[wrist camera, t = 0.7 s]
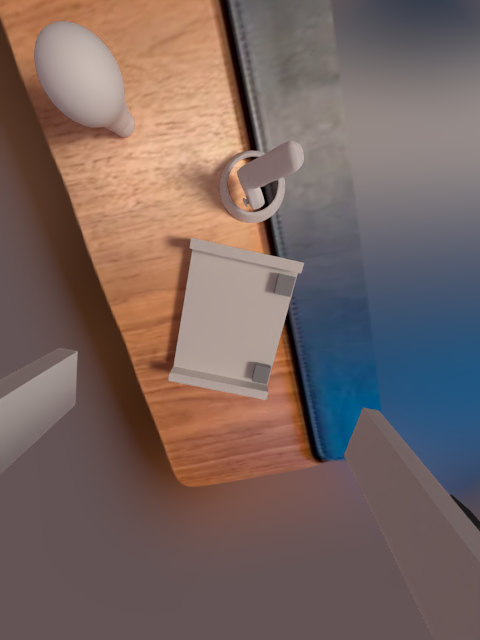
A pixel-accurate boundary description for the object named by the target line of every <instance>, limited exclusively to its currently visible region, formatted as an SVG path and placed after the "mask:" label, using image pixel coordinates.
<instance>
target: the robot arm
mask: <svg viewBox="0 0 480 640" xmlns="http://www.w3.org/2000/svg"><path fill="white" fill-rule="evenodd" d="M76 373H77V351H74V350H68V349H63V348H58V349H57V350H55V351H53V352H51V353H49V354H47V355H45V356H44V357H42V358H40V359H38V360H37V361H34V362H32V363H31V364H29V365H27V366H25V367H23V368H22V369H20V370H18V371H16V372H14V373H12V374H10V375H8V376H7V377H5V378H3V379H1V380H0V474H1V473H2V472H3V471H4V470H5V469H6V468H8V467H9V466H10V465H11V464H12V463H13V462H14V461H15V460H16V459H17V458H18V457H19V456H20V455H22V454H23V453H24V452H25V451H26V450H27V449H28V448H29V447H30V446H31V445H32V444H33V443H34V442H36V441H37V440H38V439H39V438H40V437H41V436H42V435H43V434H44V433H45V432H46V431H47V430H48V429H49V428H51V427H52V426H53V425H54V424H55V423H56V422H57V421H58V420H59V419H60V418H61V417H63V415H65V414H66V413H67V412H68V411H69V410H70V409H71V408H72V407H73V406H74V405H75V401H76ZM344 456H345V458H346V460H347V462H348V464H349V466H350V468H351V470H352V472H353V475H354V477H355V479H356V480H357V483H358V485H359V487H360V489H361V491H362V493H363V495H364V497H365V499H366V501H367V503H368V505H369V507H370V509H371V511H372V513H373V515H374V518H375V520H376V522H377V524H378V526H379V528H380V530H381V532H382V534H383V536H384V538H385V540H386V542H387V544H388V546H389V548H390V550H391V552H392V555H393V556H394V559H395V561H396V563H397V565H398V567H399V569H400V571H401V573H402V575H403V577H404V579H405V581H406V583H407V585H408V587H409V589H410V591H411V594H412V596H413V598H414V600H415V602H416V604H417V606H418V608H419V610H420V612H421V614H422V616H423V618H424V620H425V622H426V624H427V626H428V628H429V630H430V632H431V635H432V637H433V639H434V640H480V521H479V520H478V519H477V518H476V517H475V516H474V515H473V513H471V511H470V510H469V509H468V508H466V507H465V506H464V505H463V504H462V503H461V502H459V501H458V500H457V499H456V498H455V497H454V496H452V495H449V494H448V493H447V492H446V491H445V489H444V488H443V487H442V486H441V485H440V483H439V482H438V481H437V480H436V479H435V477H434V476H433V475H432V474H431V473H430V472H429V470H428V469H427V468H426V467H425V465H424V464H423V463H422V462H421V461H420V459H419V458H418V457H417V456H416V455H415V453H414V452H413V451H412V450H411V449H410V448H409V446H408V445H407V444H406V443H405V441H404V440H403V439H402V438H401V437H400V436H399V434H398V433H397V432H396V431H395V429H394V428H393V427H392V426H391V425H390V423H389V422H388V421H387V420H386V419H385V417H384V416H383V415H382V414H381V413H380V411H377V410H372V409H367V408H363V409H362V412H361V414H360V417H359V419H358V422H357V424H356V427H355V429H354V432H353V434H352V437H351V439H350V442H349V444H348V447H347V449H346V452H345V454H344Z"/></svg>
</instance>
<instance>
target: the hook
mask: <svg viewBox="0 0 480 640" xmlns="http://www.w3.org/2000/svg"><path fill="white" fill-rule="evenodd" d="M247 157H258V158H256V159H255V160H253V161H251V162H249V163H247V164H246V165H244V166H242V167H241V168H240V169H239V170H238V171H237V175H238V178H239V181H240V184H241V186H242V188H243V190H244V192H245V194H246V198H247V199H245V198H243V202H244V204H245V206H246V207H247V204H248V203H249V205H250V206H251V207H252V209H253V210H255V209H259V208H260V207H262V206H263V205H264V203H265V201H264V197H263V194H262V191H261V189H260V187H263V186H265V185H266V184H268V183H271V182H273V181H276V180H278V190H277V193H276V196H275V198H274V200H273V201H272V203H271V204H270V205H269V206H268V207H266V208H265V209H263V210H261V211H257V212H247V211H244V210H242V209H240V208H239V207H237V206H236V205H235V204H234V202H233V201H232V199H231V198H230V195H229V192H228V177H229V174H230V171H231V170H232V168H233V166H234V165H235V164H236V163H237V162H239V161H240V160H242V159H244V158H247ZM303 162H304V155H303V150H302V147H301V146H300V144H298V143H297V142H294V141H289V142H286V143H284V144H282V145H280V146H278V147H276V148H274V149H273V150H271V151H269V152H267V153H263V152H259V151H246V152H243V153H240V154H238V155H237V156H235V157H234V158H232V159H231V160H230V161H229V163H228V164H227V165H226V167H225V168H224V170H223V173H222V175H221V179H220V197H221V200H222V203H223V205H224V206H225V208H226V210H227V211H228V212H229V213H230V214H231V215H232V216H233V217H234V218H236V219H238V220H240V221H242V222H246V223H257V222H261V221H264V220H266V219H268V218H269V217H271V216H272V215H273V214H274V213H275V212H276V211H277V210H278V208H279V207H280V205H281V203H282V201H283V197H284V194H285V179H284V177H285V176H288V175H290V174H292V173H294V172H296V171H297V170H298V169H299V168H300V167H301V166H302V165H303Z"/></svg>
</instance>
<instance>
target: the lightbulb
mask: <svg viewBox="0 0 480 640" xmlns="http://www.w3.org/2000/svg"><path fill="white" fill-rule="evenodd" d="M34 61H35V66H36V71H37V75H38V78H39V81H40V83H41V85H42V87H43V89H44V90H45V92H46V94H47V96H48V97H49V98H50V100H51V101H52V102H53V104H54V105H55V106H56V107H57V108H58V109H59V110H60V111H61V112H62V113H63V114H64V115H66V116H67V117H68V118H70V119H71V120H73V121H74V122H77V123H79V124H81V125H84V126H87V127H92V128H95V127H105V128H107V129H108V130H110V131H113V132H115V133H116V134H117V135H119V136H121V137H124V138H125V137H129V136H131V135H132V134H133V132H134V130H135V121H134V119H133V117H132V115H131V113H130V112H129V109H128V106H127V104H126V103H125V101H124V99H125V89H124V82H123V78H122V74H121V71H120V69H119V66H118V64H117V62H116V60H115V58H114V57H113V55H112V54H111V52H110V50H109V49H108V47H107V46H106V45H105V44H104V43H103V42H102V41H101V40H100V39H99V38H98V37H97V36H96V35H95V34H93V33H92V32H91V31H89V30H88V29H86V28H85V27H83V26H81V25H79V24H77V23H72V22H67V21H58V22H54V23H51V24H49V25H48V26H46V27H45V28H44V29H43V30H42V31H41V32H40V34H39V35H38V37H37V40H36V44H35V50H34Z"/></svg>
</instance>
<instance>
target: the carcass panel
mask: <svg viewBox="0 0 480 640" xmlns="http://www.w3.org/2000/svg"><path fill="white" fill-rule="evenodd" d="M189 249H192V255H191V261H190V268H189V274H188V280H187V286H186V292H185V298H184V305H183V311H182V317H181V323H180V329H179V335H178V342H177V348H176V354H175V360H174V366H173V368H172V370H171V371H170V374H169V380H168V381H173V382H178V383H183V384H188V385H193V386H198V387H203V388H208V389H213V390H218V391H223V392H228V393H233V394H238V395H243V396H248V397H254V398H259V399H264V400H266V399H267V396H268V387H267V384H268V380H269V377H270V373H271V369H272V366H273V362H274V358H275V354H276V351H277V347H278V343H279V340H280V336H281V332H282V329H283V325H284V321H285V318H286V314H287V310H288V307H289V303H290V299H291V296H292V292H293V288H294V285H295V281H296V277H297V274H298V273H301V272H302V269H303V265H304V263H302V262H297V261H293V260H288V259H284V258H280V257H275V256H271V255H266V254H262V253H257V252H253V251H249V250H244V249H240V248H235V247H231V246H226V245H222V244H217V243H213V242H209V241H204V240H200V239H195V238H191V242H190V248H189Z"/></svg>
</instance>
